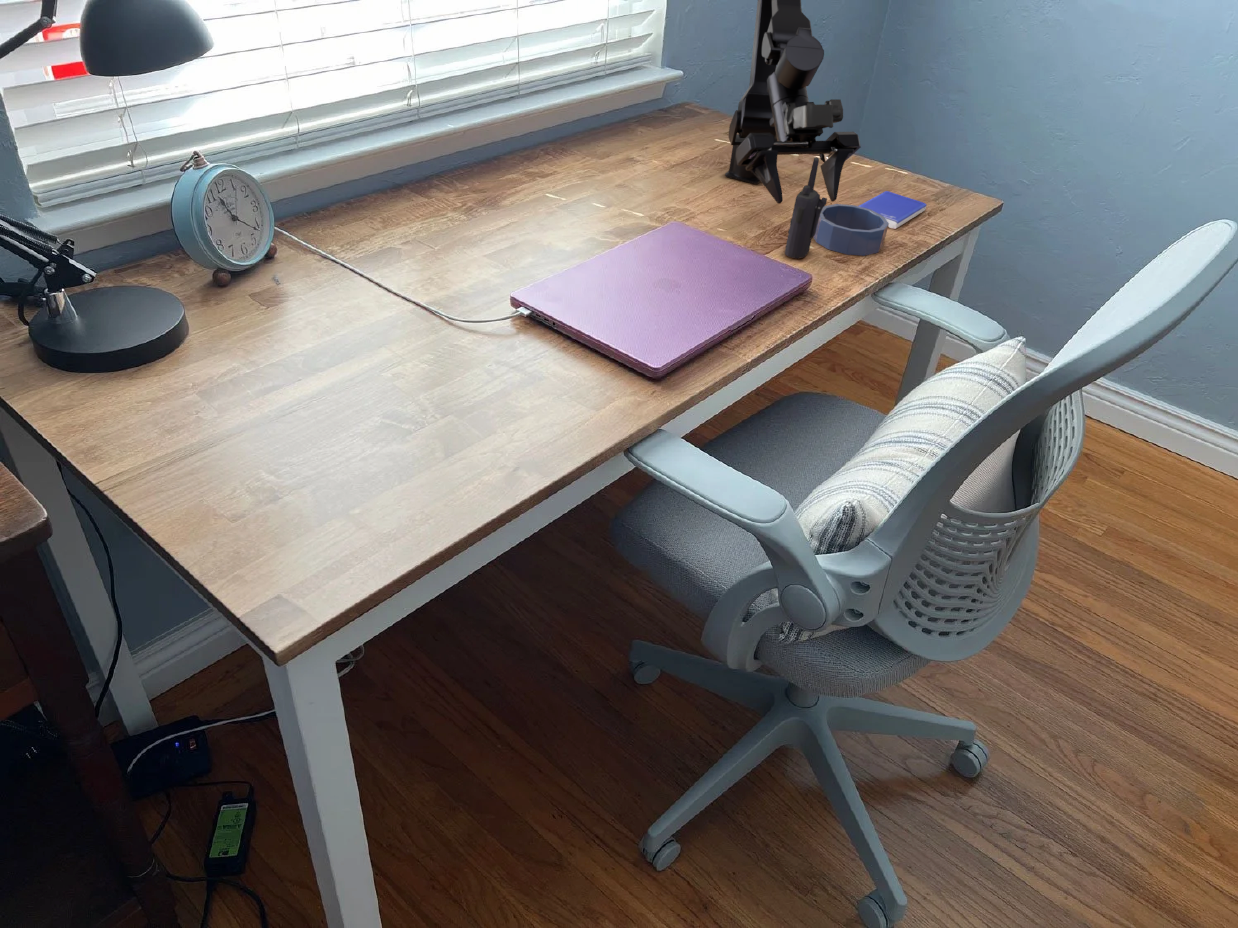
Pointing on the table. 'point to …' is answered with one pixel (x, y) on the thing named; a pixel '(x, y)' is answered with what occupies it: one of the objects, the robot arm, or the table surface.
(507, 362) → the table surface
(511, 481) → the table surface
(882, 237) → the blue faceted hollow ring
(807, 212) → the two-way radio
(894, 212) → the blue book
